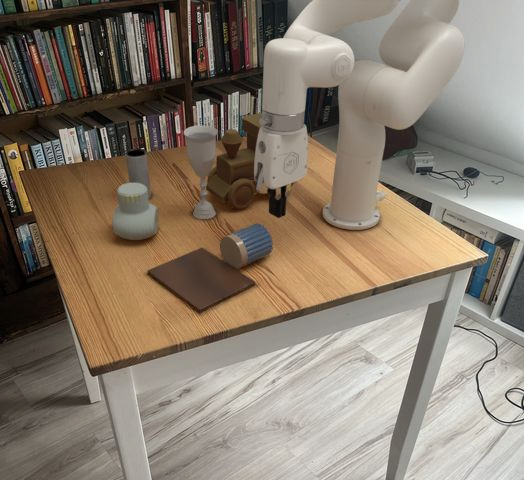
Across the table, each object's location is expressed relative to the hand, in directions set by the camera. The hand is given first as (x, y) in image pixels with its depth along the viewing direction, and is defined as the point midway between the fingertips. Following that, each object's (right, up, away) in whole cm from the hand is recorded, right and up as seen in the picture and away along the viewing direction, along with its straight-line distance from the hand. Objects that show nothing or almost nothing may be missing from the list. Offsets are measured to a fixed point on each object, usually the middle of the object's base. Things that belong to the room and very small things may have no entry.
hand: (276, 214), depth 111 cm
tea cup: (-6, -9, 0) cm, 11 cm away
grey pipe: (-31, +9, +20) cm, 38 cm away
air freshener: (-29, -3, +7) cm, 30 cm away
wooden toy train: (-5, +9, +21) cm, 24 cm away
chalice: (-16, +3, +14) cm, 21 cm away
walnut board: (-14, -14, -5) cm, 21 cm away
